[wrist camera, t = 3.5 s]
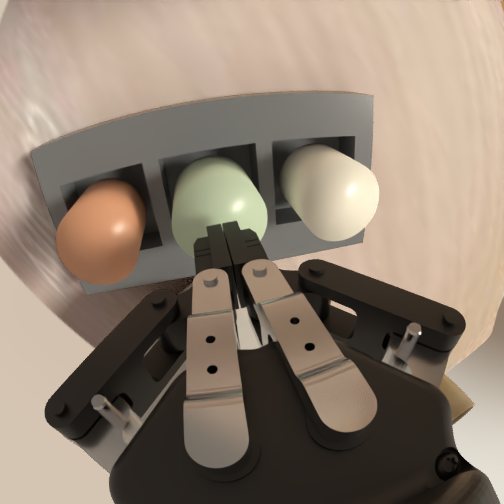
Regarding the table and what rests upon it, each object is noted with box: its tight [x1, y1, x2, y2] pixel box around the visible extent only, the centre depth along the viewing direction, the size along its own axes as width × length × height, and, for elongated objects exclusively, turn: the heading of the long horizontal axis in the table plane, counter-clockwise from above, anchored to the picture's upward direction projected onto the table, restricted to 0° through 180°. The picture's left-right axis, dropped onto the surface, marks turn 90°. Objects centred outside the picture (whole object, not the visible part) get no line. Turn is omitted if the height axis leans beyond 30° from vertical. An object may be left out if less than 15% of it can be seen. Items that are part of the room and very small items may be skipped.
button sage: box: [172, 155, 267, 258], centre depth 16 cm, size 5×5×4 cm
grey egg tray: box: [30, 91, 373, 295], centre depth 19 cm, size 12×23×3 cm, turn 95°
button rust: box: [56, 178, 147, 285], centre depth 16 cm, size 5×5×4 cm
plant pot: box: [439, 374, 475, 425], centre depth 45 cm, size 15×15×16 cm
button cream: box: [279, 143, 379, 241], centre depth 17 cm, size 5×5×4 cm
